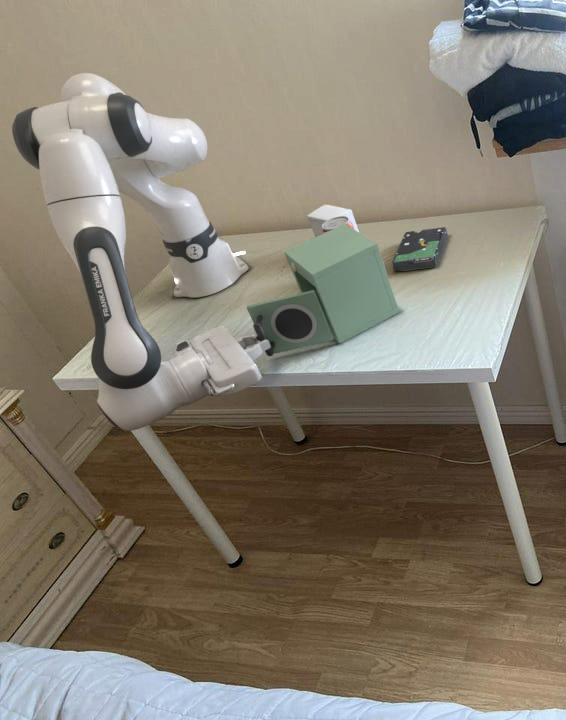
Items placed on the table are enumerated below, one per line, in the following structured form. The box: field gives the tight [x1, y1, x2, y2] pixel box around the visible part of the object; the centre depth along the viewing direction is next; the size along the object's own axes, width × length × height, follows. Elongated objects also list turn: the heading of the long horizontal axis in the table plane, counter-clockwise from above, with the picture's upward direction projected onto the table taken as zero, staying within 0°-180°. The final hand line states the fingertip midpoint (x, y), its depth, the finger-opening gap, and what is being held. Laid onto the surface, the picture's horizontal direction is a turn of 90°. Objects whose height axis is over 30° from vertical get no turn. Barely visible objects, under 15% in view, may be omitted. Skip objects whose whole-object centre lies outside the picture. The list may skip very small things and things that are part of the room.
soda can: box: [322, 216, 355, 234], centre depth 158 cm, size 7×7×13 cm
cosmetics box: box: [306, 203, 360, 238], centre depth 170 cm, size 10×6×10 cm, turn 50°
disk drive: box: [391, 226, 449, 272], centre depth 161 cm, size 10×3×15 cm
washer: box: [283, 224, 400, 344], centre depth 142 cm, size 14×15×16 cm
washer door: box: [246, 290, 335, 357], centre depth 133 cm, size 5×13×11 cm, turn 95°
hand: (265, 339), depth 132 cm, fingers closed, pressing on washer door
